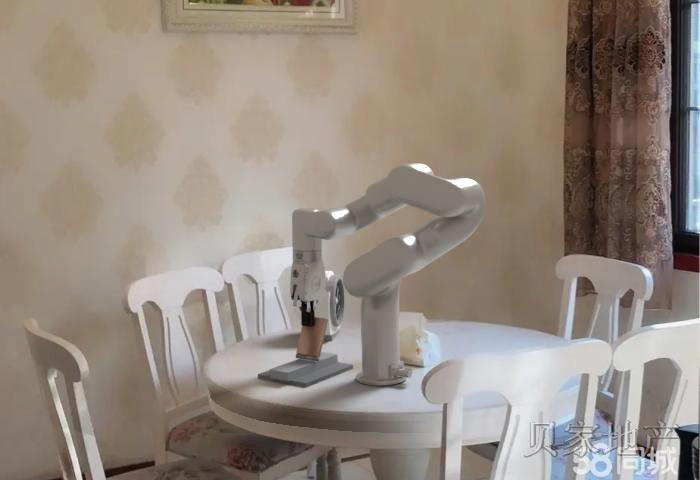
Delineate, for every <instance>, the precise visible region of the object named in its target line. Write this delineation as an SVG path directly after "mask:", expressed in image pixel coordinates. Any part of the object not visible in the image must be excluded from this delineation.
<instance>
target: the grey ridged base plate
mask: <svg viewBox="0 0 700 480" xmlns="http://www.w3.org/2000/svg"><path fill="white" fill-rule="evenodd" d="M338 358H339V356H338V353H332V352H327V351H326V352H325V351H321V354H320V357H319V361H311V360H305V359H299V358H296V359H295V360H292V361H289V362H286V363H283V364H282V365H279V366H278V365H277V366H275V367H273V368H270V369H269V370H265V371H263V372H260V373H258V374H257V379H262V380H266V381H272V382H277V383H281V382H282V384H287V383H288V385H292V384H293V386H297V387H298V386H299V387H304V388H308V387H311V386H314V385H315V384H319V383H321V382H323V381H326V380H328V379H330V378H333V377H336V376H338V375H340V374H342V373H345V372H347V371H350V370H353V369H354V365H353V364H351V363H345V362H339V361H338Z"/></svg>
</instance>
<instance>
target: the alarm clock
mask: <svg viewBox="0 0 700 480" xmlns="http://www.w3.org/2000/svg"><path fill="white" fill-rule="evenodd" d="M325 275H326V296H325V297H323V298H322V300H320V301H319V302H318V303H317V305H316V310H315V317H317V318H325V319H328V322H327V327H326V332H325V336H324V341H323V342H325V341H327V342H329V341H330V342H332V341H334V340H335V339H336V337H337V336H338V335H339V334H340V328H341V326H342V325H343V324H342V323H343V321H344V315H345V305H346V295H345V293H346V292H345V291H346V289H345V287H344V284H343V276H341V275H340V274H335V273H334V272H333V271H332V270H325Z"/></svg>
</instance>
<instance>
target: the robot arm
mask: <svg viewBox="0 0 700 480" xmlns="http://www.w3.org/2000/svg"><path fill="white" fill-rule="evenodd" d="M407 206H409V207H412V208H415V209H418V210H421V211H424V212H427V213H429V214H431V215H435V217H434V218H431V219H430V220H428V221H427V222H425V223H423V224H422V225H421V226H419V227H418V228H416V229H414V230H413V231H410V232H407V233H404V234H400V235H395V236H392V237H390V238H387V239H386V240H384V241H382V242H380V243H379V244H377V245H376V246H373V247H372V248H371V249H369V250H367V251H365V252H364V253H363V254H361V255H360V256H358V257H357V258H355V259H353V260H352V261H351V262H349V264H347V266H346V267H345V269H344V270H343V271H344V272H343V275H342V280H343V284H344V290H345V291H346V292H347V293H348V294H349V295H350V296H353V297H355V298H357V299H361V301H360V337H361V339H360V341H361V368H362V369H361V370H360V371H359V372H357V373H356V376H355V377H356V378H355V379H356V381H357V382H358V383H361V384H363V385H369V386H390V385H391V386H392V385H398V384H400V383H402V382H404V381H406V380H407V379H410V378H412V375H413V371H414V370H413V368H412V367H405V360H401V349H400V348H401V347H400V291H401V285H402V279H403V278H404V277H407V276H409V275H412V274H414V273H417V272H419V271H421V270H422V269H423V268H425V267H426V266H428V265H429V264H430V263H432V262H434V261H436V260H437V259H439V258H440V257H442V256H443V255H445V254H447V253H448V252H449V251H451V250H452V249H454V248H455V247H457V246H458V245H460V244H462V243H464V241H466V240H467V239H468V238H469V237H471V236H472V234H473V233H474V232H475V231H476V230H477V229H478V228H479V226H480V224H481V222H482V220H483V218H484V215H485V211H486V195H485V191H484V189H483V187H482V186H481V184H480V183H478V182H477V181H475V180H474V179H471V178H467V177H458V178H450V179H446V178H444V177H440V176H436V175H435V173H434V171H433V170H432V169H431V168H430V167H429V166H428V165H426V164H424V163H421V162H412V163H403V164H399V165H396V166H395V167H393V168H392V169H391V170H390V171H389V172H388V174H387V176H385V177H384V178H383V177H382V178H381V179H379V180H378V181H376V182H373V183H372V184H370V185H368V187H367V188H366V191H365V194H364V195H363V196H361V197H359V198H358V199H355V200H354V201H352V202H350V203H348V204H346V205H344V206H341V207H335V208H329V209H322V210H319V209H318V208H311V207H304V208H303V207H301V208H296V209H293V211H292V215H291V226H292V227H291V231H292V235H291V236H292V237H291V239H292V241H291V242H292V264H291V271H290V282H289V283H290V284H289V285H290V286H289V287H290V288H289V295H290V298H291V300H292V301H293V302H292V306H293V307H298V308H299V311H300V312H301V313H300V320H301V322H300V323H301V324H300V325H301V327H302V326H307V327H312V326H314V325H315V310H316V305H317V303H318V302H319V301H320V300H322V298H323V297H325V296H326V275H325V271H326V268H325V263H324V260H323V259H322V258H323V254H322V251H323V250H322V249H323V248H322V244H323V243H322V240H324V241H325V240H327V241H328V240H329V241H330V240H334V239H335V240H336V239H338V238H343V237H346V236H350V235H352V234H354V233H357V232H359V231H361V230H363V229H366V228H367V227H369V226H371V225H373V224H375V223H376V222H378V221H379V220H382V219H384V218H385V217H388V216H390V215H392V214H393V213H395V212H397V211H399V210H400V209H403V208H405V207H407Z"/></svg>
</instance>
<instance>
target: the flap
mask: <svg viewBox="0 0 700 480" xmlns="http://www.w3.org/2000/svg"><path fill="white" fill-rule="evenodd" d="M327 322H328V319H325V318H317V317H315V325H314V326H312V327H307V326H302V325H301V328H300V329H301V330H300V334H299V335H300V336H299V339H298V344H297V348H296V354H295V359H305V360H311V361H319V357H320V354H321V352H322V350H323V345H324V342H325V341H324V336H325V332H326V327H327Z"/></svg>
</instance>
